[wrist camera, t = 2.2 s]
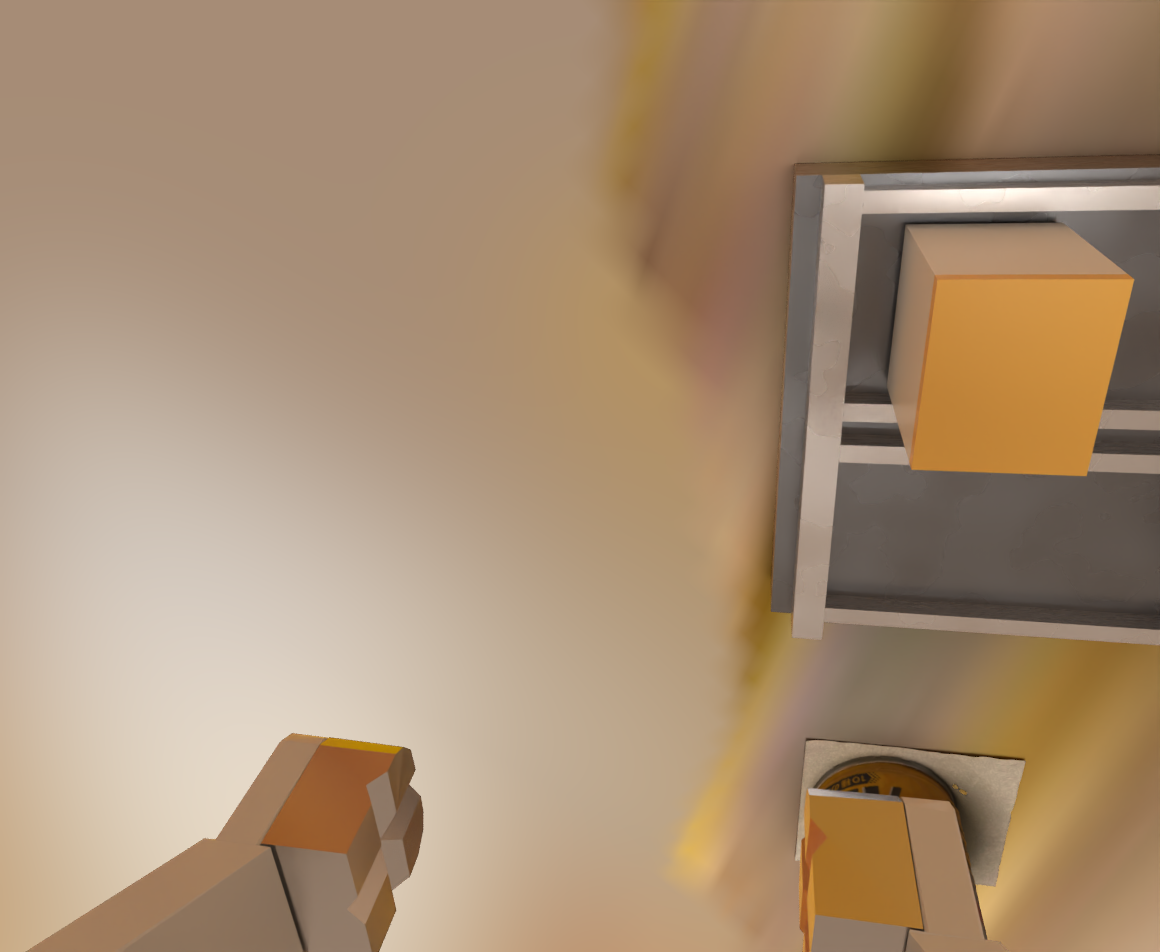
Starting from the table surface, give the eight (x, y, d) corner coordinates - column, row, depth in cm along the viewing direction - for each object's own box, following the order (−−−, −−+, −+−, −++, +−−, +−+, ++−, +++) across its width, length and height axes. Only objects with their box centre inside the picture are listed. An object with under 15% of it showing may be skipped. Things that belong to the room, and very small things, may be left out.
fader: (1062, 222, 24) (1134, 279, 19) (1029, 389, 26) (1086, 476, 21) (905, 224, 25) (937, 279, 20) (886, 386, 27) (911, 469, 22)
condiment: (805, 736, 37) (819, 1027, 27) (1024, 757, 35) (1129, 1075, 25) (794, 856, 40) (803, 1154, 30) (994, 879, 39) (1075, 1202, 28)
